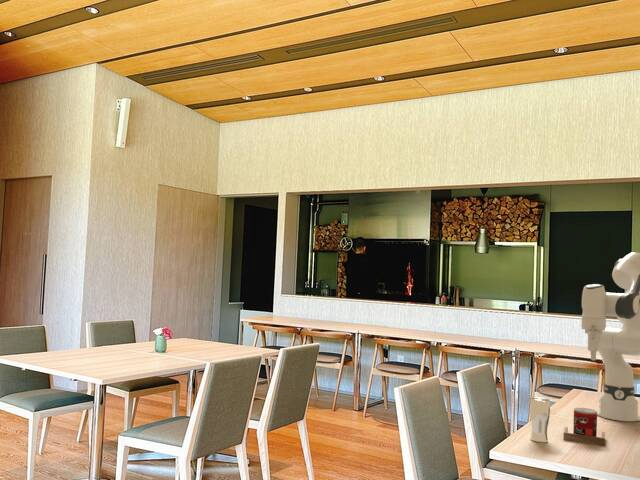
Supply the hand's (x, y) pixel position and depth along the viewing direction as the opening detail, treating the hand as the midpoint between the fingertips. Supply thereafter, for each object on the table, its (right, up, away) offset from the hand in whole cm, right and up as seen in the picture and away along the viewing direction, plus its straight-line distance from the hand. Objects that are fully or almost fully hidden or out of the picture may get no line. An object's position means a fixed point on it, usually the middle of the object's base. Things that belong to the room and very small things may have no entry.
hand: (593, 359), depth 238 cm
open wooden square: (-9, -27, -13) cm, 32 cm away
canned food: (-10, -27, -14) cm, 32 cm away
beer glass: (-28, -26, -18) cm, 42 cm away
